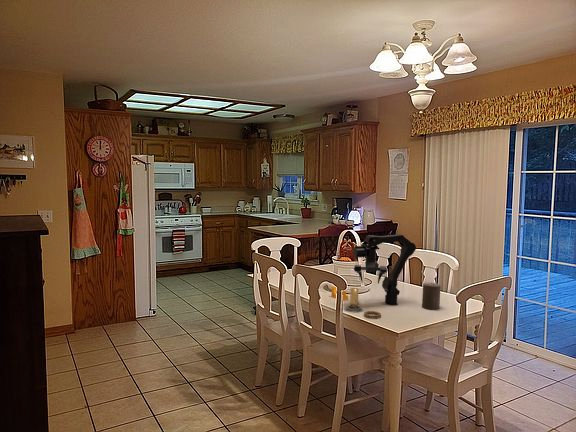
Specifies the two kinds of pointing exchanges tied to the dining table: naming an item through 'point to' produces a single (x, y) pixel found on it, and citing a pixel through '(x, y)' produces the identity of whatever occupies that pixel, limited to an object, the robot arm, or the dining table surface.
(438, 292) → the pillar candle
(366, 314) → the stand collar
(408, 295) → the dining table surface
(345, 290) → the pipe clamp
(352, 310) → the hub
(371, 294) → the dining table surface
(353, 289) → the sleeve
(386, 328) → the dining table surface
